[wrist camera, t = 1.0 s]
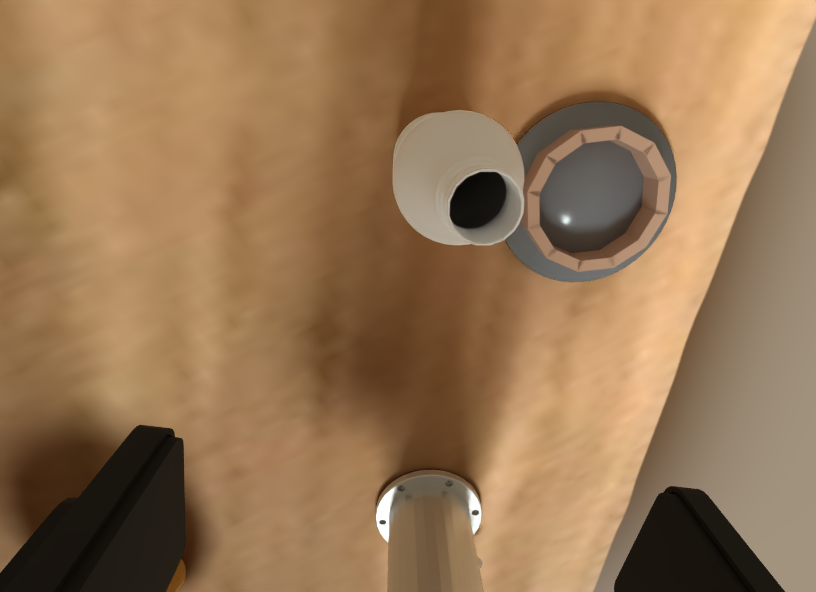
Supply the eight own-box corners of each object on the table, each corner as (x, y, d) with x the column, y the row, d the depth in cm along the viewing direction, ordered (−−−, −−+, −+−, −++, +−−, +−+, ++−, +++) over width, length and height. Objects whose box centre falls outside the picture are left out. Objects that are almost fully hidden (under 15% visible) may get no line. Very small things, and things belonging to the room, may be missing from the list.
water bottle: (421, 212, 43) (453, 327, 19) (377, 144, 40) (353, 180, 17) (489, 168, 41) (610, 234, 18) (447, 95, 39) (524, 62, 16)
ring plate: (698, 214, 43) (722, 222, 40) (550, 308, 46) (562, 323, 43) (621, 60, 38) (642, 55, 35) (462, 177, 41) (467, 182, 38)
